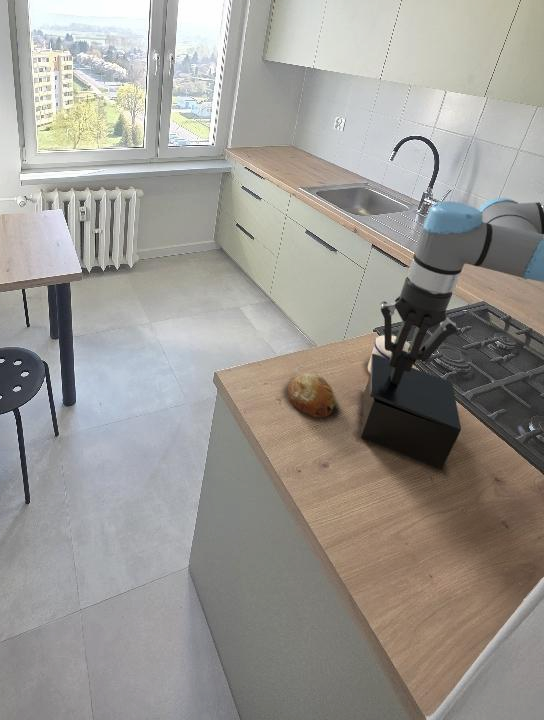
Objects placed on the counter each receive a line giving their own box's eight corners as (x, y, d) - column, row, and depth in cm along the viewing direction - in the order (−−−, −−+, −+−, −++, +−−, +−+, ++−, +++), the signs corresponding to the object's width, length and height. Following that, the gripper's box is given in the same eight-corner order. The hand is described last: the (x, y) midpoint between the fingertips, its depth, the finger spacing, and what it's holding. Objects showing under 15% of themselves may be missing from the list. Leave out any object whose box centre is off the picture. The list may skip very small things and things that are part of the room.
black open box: (360, 439, 87) (373, 401, 83) (362, 396, 98) (375, 360, 93) (440, 472, 82) (459, 432, 77) (434, 422, 92) (451, 385, 87)
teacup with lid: (408, 395, 99) (422, 357, 94) (366, 381, 102) (378, 344, 97) (403, 361, 109) (416, 325, 104) (365, 350, 112) (376, 315, 107)
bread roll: (309, 392, 103) (302, 362, 102) (347, 406, 94) (341, 372, 94) (283, 412, 97) (276, 379, 97) (321, 428, 89) (314, 392, 88)
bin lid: (369, 396, 83) (370, 393, 82) (371, 355, 93) (372, 353, 93) (459, 432, 77) (461, 429, 77) (450, 385, 87) (452, 382, 87)
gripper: (468, 283, 77) (429, 378, 87) (389, 264, 82) (361, 356, 92) (475, 305, 71) (432, 405, 80) (390, 283, 76) (359, 379, 85)
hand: (394, 378), depth 86 cm, fingers closed
